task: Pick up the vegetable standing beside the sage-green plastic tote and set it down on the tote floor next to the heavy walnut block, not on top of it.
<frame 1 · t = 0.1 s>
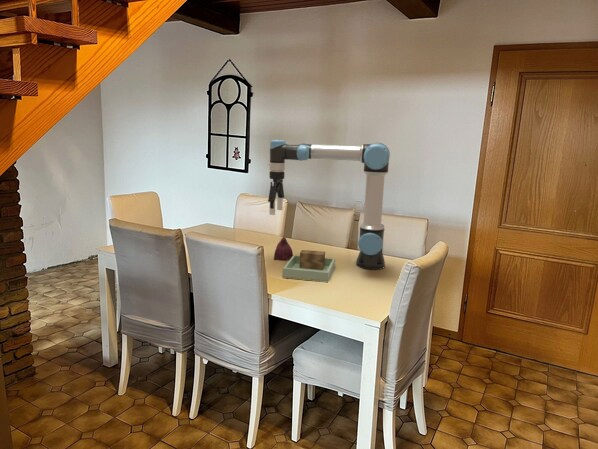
hand: (276, 212, 237), 28 cm above the table, fingers open, 13 cm apart
walnut block: (312, 267, 237), point 1 cm above the table, touching tote
tote: (309, 272, 231), on the table
vegetable: (283, 259, 252), on the table
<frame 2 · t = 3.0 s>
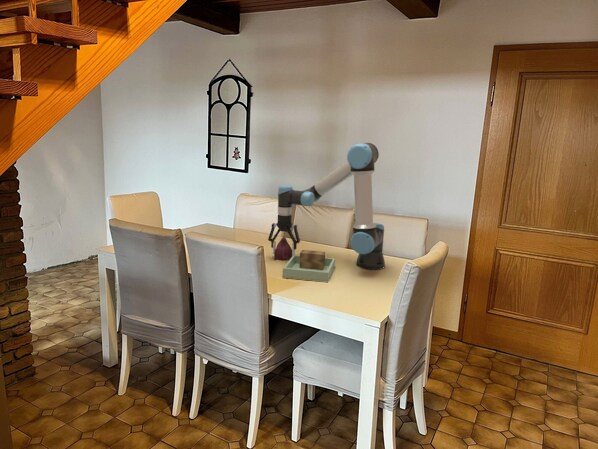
hand: (283, 254, 252), 3 cm above the table, fingers closed on vegetable, 10 cm apart
vegetable: (283, 259, 252), on the table, touching gripper
everything else where it was.
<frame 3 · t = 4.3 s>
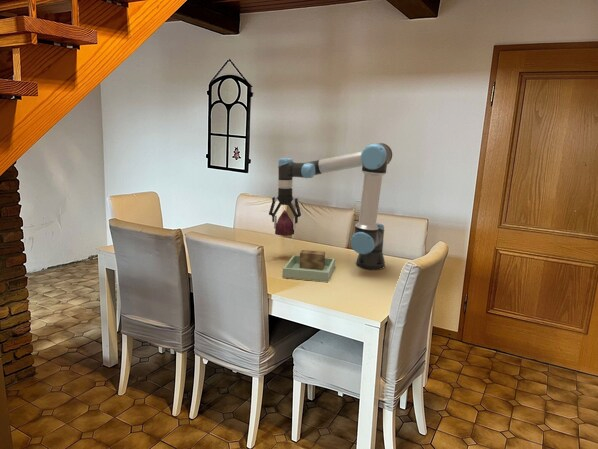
hand: (284, 228, 249), 17 cm above the table, fingers closed on vegetable, 10 cm apart
vegetable: (284, 234, 249), point 14 cm above the table, touching gripper
everything else where it was.
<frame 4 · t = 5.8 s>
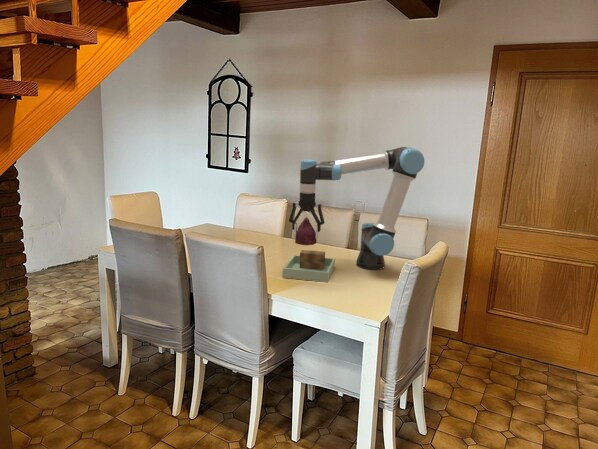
hand: (306, 237, 226), 19 cm above the table, fingers closed on vegetable, 10 cm apart
vegetable: (305, 243, 226), point 16 cm above the table, touching gripper
everything else where it was.
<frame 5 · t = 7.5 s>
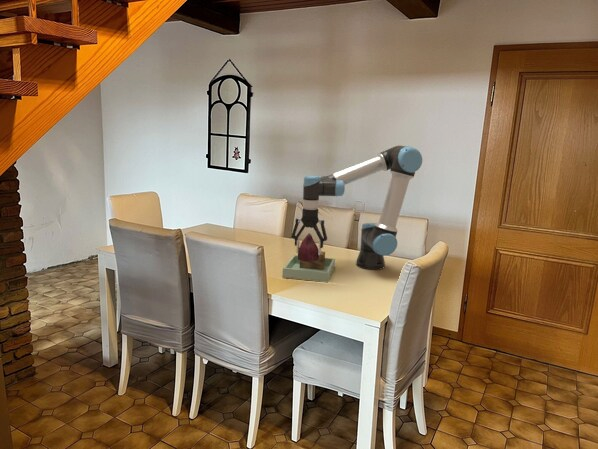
hand: (308, 253, 224), 11 cm above the table, fingers closed on vegetable, 10 cm apart
vegetable: (308, 259, 225), point 8 cm above the table, touching gripper
everything else where it was.
when the fingers open (6 cm above the table, at t = 9.0 s): vegetable drops 3 cm, resting on tote.
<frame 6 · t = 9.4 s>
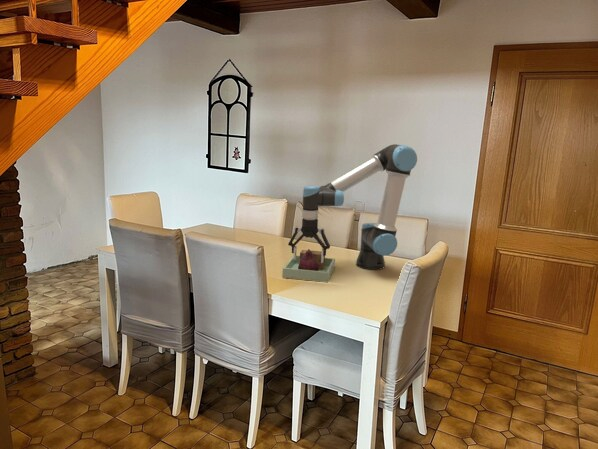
hand: (308, 261, 225), 7 cm above the table, fingers open, 13 cm apart
vegetable: (308, 274, 226), point 1 cm above the table, touching tote
everything else where it was.
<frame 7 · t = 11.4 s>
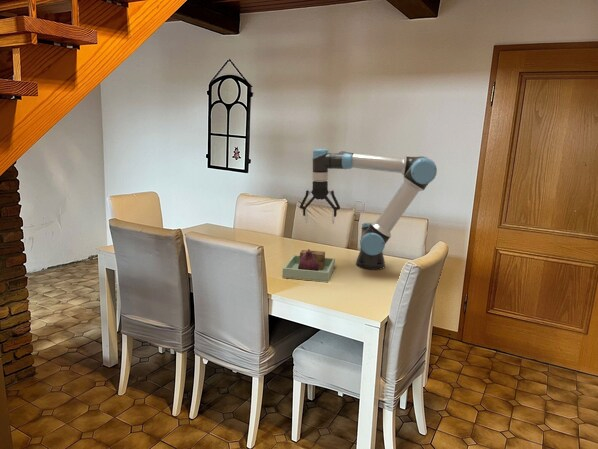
hand: (319, 222, 232), 24 cm above the table, fingers open, 13 cm apart
nothing on the table moved.
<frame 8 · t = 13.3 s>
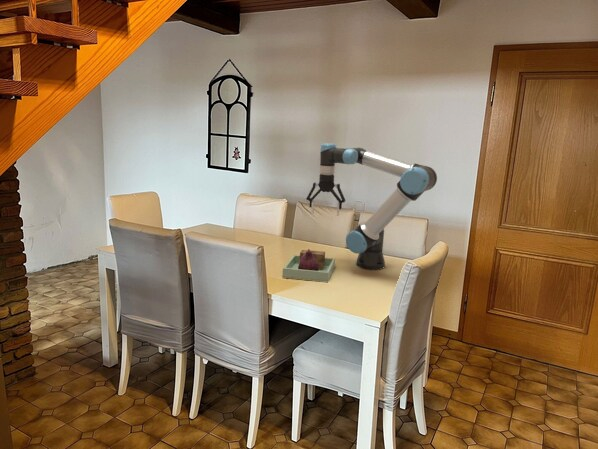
hand: (325, 214, 241), 27 cm above the table, fingers open, 13 cm apart
nothing on the table moved.
at the end: vegetable inside the target area on the tote (0.5 cm from its centre), point 0.6 cm above the tote's base; vegetable tilted 0°; walnut block moved 0.0 cm from its start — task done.
